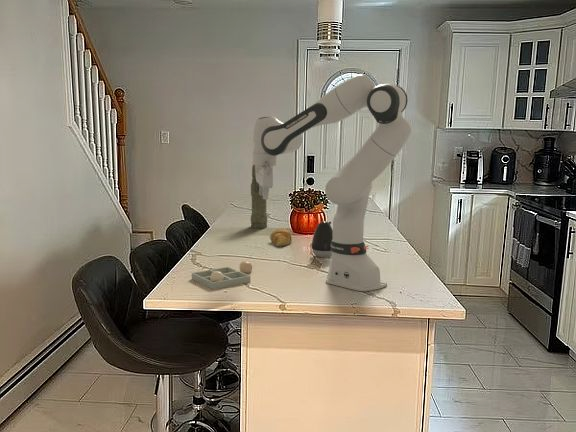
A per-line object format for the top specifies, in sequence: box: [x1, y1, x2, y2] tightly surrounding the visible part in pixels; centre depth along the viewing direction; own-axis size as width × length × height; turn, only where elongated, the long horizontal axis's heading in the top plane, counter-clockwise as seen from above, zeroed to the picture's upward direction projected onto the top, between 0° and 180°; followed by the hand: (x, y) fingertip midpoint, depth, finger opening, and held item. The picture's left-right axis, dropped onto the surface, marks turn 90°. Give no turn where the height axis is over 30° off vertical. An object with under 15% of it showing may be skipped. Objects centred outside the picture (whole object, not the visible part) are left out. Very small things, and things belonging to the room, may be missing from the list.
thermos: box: [250, 164, 268, 229], centre depth 296 cm, size 9×12×35 cm
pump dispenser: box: [311, 220, 333, 259], centre depth 234 cm, size 10×10×15 cm
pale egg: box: [210, 271, 224, 282], centre depth 189 cm, size 5×5×5 cm
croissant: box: [269, 228, 292, 247], centre depth 260 cm, size 21×10×8 cm, turn 0°
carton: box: [191, 266, 251, 290], centre depth 195 cm, size 15×15×3 cm
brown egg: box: [239, 260, 253, 274], centre depth 206 cm, size 5×5×5 cm
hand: (263, 197), depth 209 cm, fingers open, 8 cm apart
